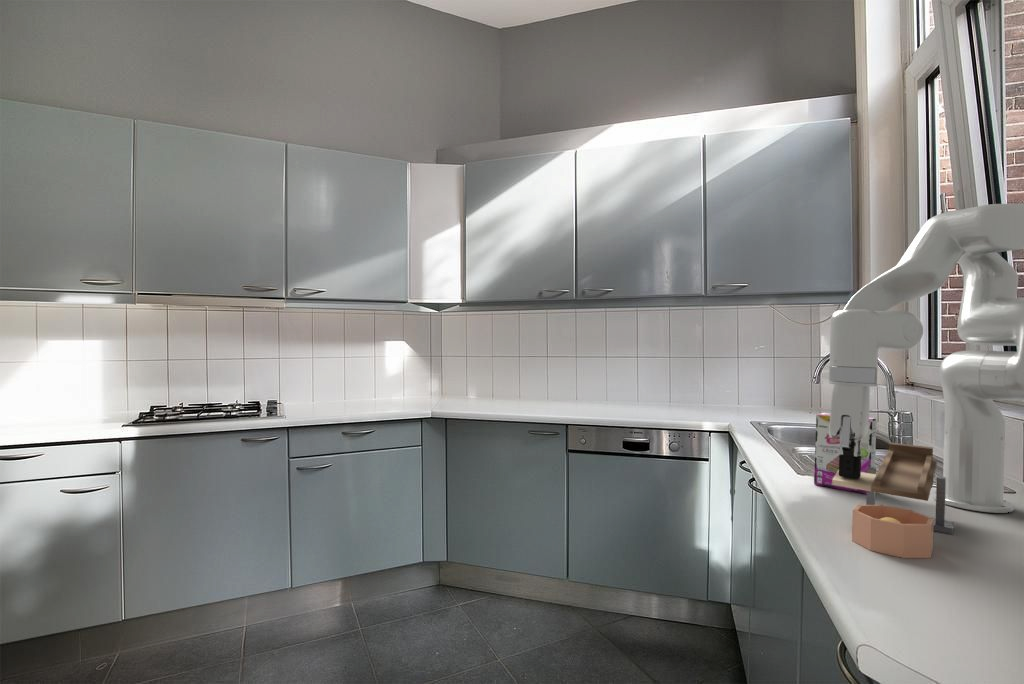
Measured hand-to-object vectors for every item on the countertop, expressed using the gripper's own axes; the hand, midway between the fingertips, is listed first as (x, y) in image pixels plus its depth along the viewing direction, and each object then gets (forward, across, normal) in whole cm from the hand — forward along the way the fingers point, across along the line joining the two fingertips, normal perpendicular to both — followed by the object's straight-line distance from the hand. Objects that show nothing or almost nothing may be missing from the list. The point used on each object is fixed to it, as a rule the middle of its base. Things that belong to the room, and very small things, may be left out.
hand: (849, 476), depth 100 cm
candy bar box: (+8, -26, -5) cm, 28 cm away
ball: (+5, +12, +8) cm, 15 cm away
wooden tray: (+3, -8, +5) cm, 9 cm away
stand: (+8, -7, +8) cm, 13 cm away
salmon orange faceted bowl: (+8, +10, +8) cm, 15 cm away
